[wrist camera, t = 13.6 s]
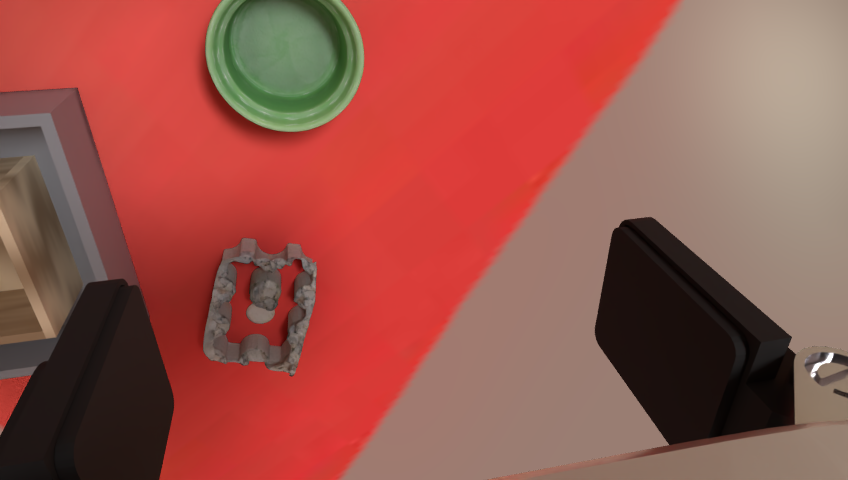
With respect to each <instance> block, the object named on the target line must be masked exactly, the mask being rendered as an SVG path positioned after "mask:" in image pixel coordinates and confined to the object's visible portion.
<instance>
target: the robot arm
mask: <svg viewBox="0 0 848 480" xmlns="http://www.w3.org/2000/svg"><path fill="white" fill-rule="evenodd" d="M595 336H596V340H597V342H598V344H599V346H600V348H601V349H602V350H603V352H604V353H605V355H606V356H607V357H608V359H609V360H610V362H611V363H612V364H613V366H614V367H615V369H616V370H617V372H618V373H619V374H620V376H621V377H622V379H623V380H624V382H625V383H626V384H627V386H628V387H629V389H630V390H631V391H632V393H633V394H634V396H635V397H636V398H637V400H638V401H639V403H640V404H641V405H642V407H643V408H644V410H645V411H646V413H647V414H648V415H649V417H650V418H651V420H652V421H653V422H654V424H655V425H656V426H657V428H658V430H659V431H660V432H661V434H662V435H663V437H664V438H665V439H666V441H667V442H668V444H669V445H668V446H663V447H657V448H652V449H647V450H642V451H636V452H631V453H625V454H620V455H614V456H609V457H604V458H598V459H593V460H588V461H582V462H577V463H572V464H567V465H561V466H556V467H551V468H546V469H540V470H535V471H530V472H525V473H519V474H514V475H509V476H504V477H499V478H494V479H488V480H848V352H847V351H844V350H841V349H837V348H832V347H826V346H825V347H823V346H820V347H819V346H812V347H808V348H804V349H802V350H801V351H799V352H798V353H797V354H795V353H794V352H793V351H792V350H790V349H789V348H788V346H789V343H790V341H791V338H792V337H791V336H790V335H789V334H787V333H786V332H785V331H784V330H783V329H782V328H780V327H779V326H778V325H777V324H776V323H775V322H773V321H772V320H771V319H770V318H769V317H768V316H766V315H765V314H764V313H763V312H762V311H761V310H760V309H758V308H757V307H756V306H755V305H754V304H753V303H751V302H750V301H749V300H748V299H747V298H746V297H744V296H743V295H742V294H741V293H740V292H739V291H737V290H736V289H735V288H734V287H733V286H732V285H731V284H729V283H728V282H727V281H726V280H725V279H724V278H722V277H721V276H720V275H719V274H718V273H717V272H716V271H714V270H713V269H712V268H711V267H710V266H709V265H707V264H706V263H705V262H704V261H703V260H702V259H700V258H699V257H698V256H697V255H696V254H694V253H693V252H692V251H691V250H690V249H689V248H688V247H687V246H685V245H684V244H683V243H682V242H681V241H680V240H678V239H677V238H676V237H675V236H674V235H673V234H671V233H670V232H669V231H668V230H667V229H666V228H664V227H663V226H662V225H661V224H660V223H659V222H657V221H656V220H655V219H653V218H652V217H646V218H637V219H629V220H624V221H623V222H622V223H621V224H620V226H619V228H616V229H614V231H613V233H612V237H611V243H610V248H609V254H608V259H607V265H606V271H605V276H604V282H603V287H602V292H601V298H600V303H599V309H598V315H597V320H596V325H595ZM173 410H174V398H173V393H172V389H171V386H170V383H169V379H168V376H167V373H166V370H165V367H164V364H163V360H162V357H161V354H160V351H159V348H158V345H157V342H156V338H155V335H154V332H153V329H152V326H151V323H150V319H149V316H148V313H147V310H146V307H145V304H144V300H143V297H142V294H141V291H140V289H139V287H138V286H137V285H130V286H129V285H128V283H127V282H126V280H125V279H123V278H122V279H113V280H105V281H96V282H90V283H88V284H87V285H86V286H85V288H84V290H83V292H82V294H81V296H80V298H79V300H78V302H77V304H76V306H75V308H74V310H73V312H72V314H71V316H70V318H69V320H68V322H67V324H66V326H65V328H64V330H63V332H62V334H61V336H60V338H59V340H58V342H57V344H56V346H55V348H54V350H53V352H52V354H51V356H50V358H49V360H48V361H44V362H42V363H40V364H39V365H38V366H37V368H36V369H35V370H34V372H33V374H32V376H31V378H30V380H29V382H28V384H27V386H26V387H25V389H24V391H23V393H22V395H21V397H20V399H19V401H18V403H17V405H16V407H15V409H14V410H13V412H12V414H11V416H10V418H9V420H8V422H7V424H6V426H5V428H4V430H3V432H2V434H1V435H0V480H159V478H160V473H161V468H162V464H163V459H164V454H165V449H166V444H167V440H168V435H169V430H170V425H171V421H172V416H173Z"/></svg>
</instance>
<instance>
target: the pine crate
mask: <svg viewBox="0 0 848 480" xmlns="http://www.w3.org/2000/svg"><path fill="white" fill-rule="evenodd" d="M82 286H83V282H82V279H81V276H80V274H79V271H78V269H77V266H76V263H75V261H74V258H73V255H72V253H71V250H70V247H69V245H68V242H67V240H66V237H65V234H64V232H63V229H62V226H61V224H60V221H59V219H58V216H57V213H56V211H55V208H54V205H53V203H52V200H51V198H50V195H49V192H48V190H47V187H46V184H45V182H44V179H43V176H42V174H41V171H40V169H39V166H38V163H37V161H36V158H35V155H33V156H21V157H9V158H0V345H2V344H10V343H17V342H25V341H32V340H40V339H47V338H55V337H57V335H58V333H59V331H60V329H61V327H62V325H63V324H64V322H65V320H66V318H67V316H68V314H69V312H70V310H71V308H72V306H73V304H74V302H75V300H76V298H77V296H78V294H79V292H80V290H81V288H82Z"/></svg>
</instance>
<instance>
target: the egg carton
mask: <svg viewBox="0 0 848 480" xmlns="http://www.w3.org/2000/svg"><path fill="white" fill-rule="evenodd" d="M294 259H301V261H302V267H303V269H304V270H305V271H303V272H301V273H300V274H298V275H297V277H296V278H295V282H294V302H295V303H296V302H297V304H298V305H297V306H295V307H293V308H292V309H291V310H290V311H289V314H288V336H287V340H285V341H284V343H283V344H282V346H272V345H270V344H269V341H268V339H267V338H266V337H265V336H263V335H261V334H251V335H248V336H246V337H245V338H244V339H243V340H242V342H241V343H239V344H238V343H230V342H228V339H227V337H226V336H225V335H226V332H227V331H228V330H229V328H230V323H231V315H232V306H231V304H230V301H231V299H232V296H233V295H234V294H235V293H236V288H235V286H236V278H237V270H236V268H235V267H234V266H233V265H232V264H231V262H234V261H236V262H240V263H245V264H248V263H250V262H251V261H253V262H254V265H255V266H261V267H259V268H257V269H255V270H254V271H253V273H252V275H251V281H250V291H249V294H250V300H251V301H252V302H253V303H252V304H251V305H250V306H249V307H248V308H247V311H246V315H247V317H248V319H249V320H250V321H252V322H254V323H258V324H263V323H266V322H269V321H270V320H271V319H272V318H273V317H274V315H275V310H274V309H275V308H276V307H277V305H278V299H279V297H280V294H281V274H280V272H279V271H278V270H277V269H278V268H279V269H282V268H283V267H284V265H289V266H291V265H292V263H293V260H294ZM316 272H317V267H316V262H314V263H312V259H311V258H308V257H306V256H305V255H304V254H303V252H302V249H301V245H299V244H292V243H288V244H287V246H286V248H285V249H284V250H283V251H282V252H280V253H277V254H267V253H265V252H263V251H262V250H261V249H260V248H259V247H258V245H257V241H256V240H255V239H249V238H242V240H241V242H240V243H239V244H238V245H237V246H236V247H234V248H230V249H224V252H223V257H222V262H221V264H220V266H219V269H218V271H217V275H216V278H215V283H214V288H213V293H212V300H211V303H210V308H209V314H208V318H207V323H206V327H205V334H204V342H203V351H204V353H205V355H206V356H207V357H208V358H209V359H210V360H211V361H219V362H222V363H224V364H226V363H227V362H237V363H240V364H242V365H243V366H244V365H248V364H249V361H257V362H265V365H266V367H267V368H268V369H269V370H273V371H284V372H288V373H290V375H289V376H293V375H294V374H295V371H296V368H297V365H298V362H299V358H300V355H301V352H302V347H303V342H304V338H305V335H306V332H307V329H308V326H309V320H310V317H311V314H312V310H313V307H314V303H315V293H316Z"/></svg>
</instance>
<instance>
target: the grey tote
mask: <svg viewBox="0 0 848 480" xmlns="http://www.w3.org/2000/svg"><path fill="white" fill-rule="evenodd" d="M33 155H35V158H36V161H37V163H38V166H39V169H40V171H41V174H42V176H43V179H44V182H45V184H46V187H47V190H48V192H49V195H50V198H51V200H52V203H53V205H54V208H55V211H56V213H57V216H58V219H59V221H60V224H61V226H62V229H63V232H64V234H65V237H66V240H67V242H68V245H69V247H70V250H71V253H72V255H73V258H74V261H75V263H76V266H77V269H78V271H79V274H80V276H81V279H82V282H83V286H82V288H81V290H80V292H79V294H78V296H77V298H76V300H75V302H74V304H73V306H72V308H71V310H70V312H69V314H68V316H67V318H66V320H65V322H64V324H63V325H62V327H61V329H60V331H59V333H58V335H57V337H55V338H47V339H40V340H32V341H25V342H17V343H10V344H2V345H0V379H8V378H15V377H22V376H29V375H32V374H33V372H34V370H35V369H36V368H37V366H38V365H39V364H40V363H42V362H44V361H48V360H49V358H50V356H51V354H52V352H53V350H54V348H55V346H56V344H57V342H58V340H59V338H60V336H61V334H62V332H63V330H64V328H65V326H66V324H67V322H68V320H69V318H70V316H71V314H72V312H73V310H74V308H75V306H76V304H77V302H78V300H79V298H80V296H81V294H82V292H83V290H84V288H85V286H86V285H87V284H88V283H90V282H96V281H105V280H113V279H122V278H123V279H125V280H126V282H127V283H128V285H129V286H130V285H137V286H138V287H139V289H140V291H141V288H140V285H139V282H138V279H137V275H136V272H135V269H134V266H133V263H132V260H131V256H130V253H129V250H128V247H127V244H126V240H125V237H124V234H123V231H122V228H121V225H120V221H119V218H118V215H117V212H116V209H115V206H114V202H113V199H112V196H111V193H110V190H109V187H108V183H107V180H106V177H105V174H104V171H103V168H102V164H101V161H100V158H99V155H98V152H97V149H96V145H95V142H94V139H93V136H92V133H91V130H90V126H89V123H88V120H87V117H86V114H85V111H84V107H83V104H82V101H81V98H80V95H79V92H78V88H64V89H48V90H32V91H16V92H0V158H9V157H21V156H33ZM141 294H142V291H141ZM142 297H143V294H142ZM143 300H144V298H143ZM144 304H145V301H144ZM145 307H146V304H145ZM146 310H147V307H146ZM147 313H148V310H147ZM148 316H149V313H148ZM149 318H150V317H149Z"/></svg>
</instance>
